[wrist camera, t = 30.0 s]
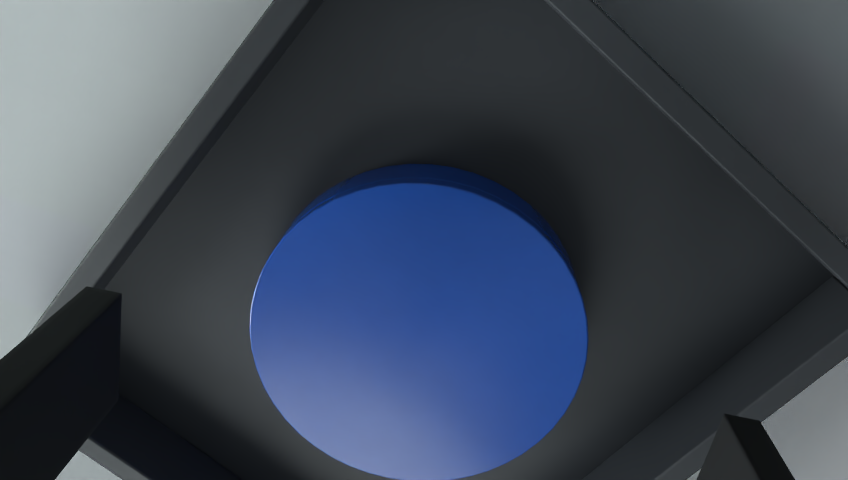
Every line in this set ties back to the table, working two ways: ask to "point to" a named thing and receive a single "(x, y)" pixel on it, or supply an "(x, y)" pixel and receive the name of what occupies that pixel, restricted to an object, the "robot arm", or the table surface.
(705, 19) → the table surface
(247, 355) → the tray
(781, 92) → the table surface
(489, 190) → the lid
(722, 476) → the robot arm
